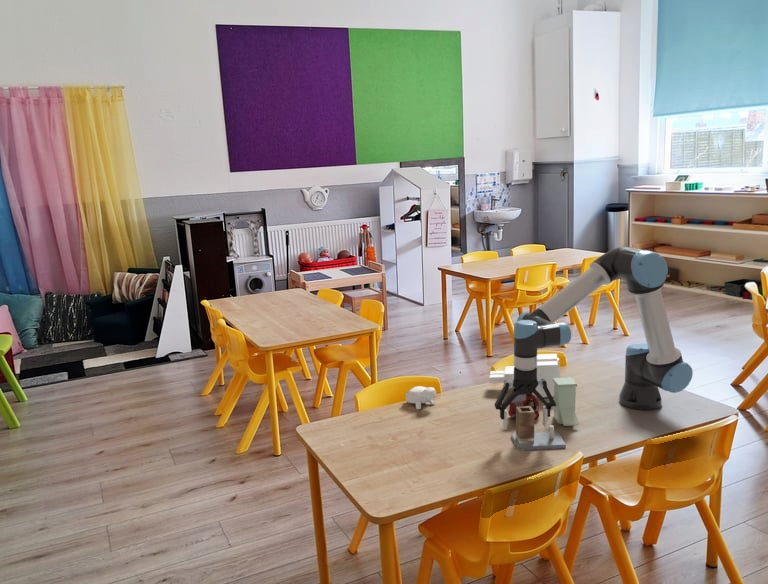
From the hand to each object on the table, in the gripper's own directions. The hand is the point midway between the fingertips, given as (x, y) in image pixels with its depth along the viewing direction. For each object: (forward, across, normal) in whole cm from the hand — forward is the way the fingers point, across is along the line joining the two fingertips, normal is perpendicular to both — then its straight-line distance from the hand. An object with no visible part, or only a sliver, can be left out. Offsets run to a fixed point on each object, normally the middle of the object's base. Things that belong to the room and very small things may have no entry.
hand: (525, 426), depth 219 cm
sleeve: (+5, 0, 0) cm, 5 cm away
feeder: (+6, -18, -14) cm, 24 cm away
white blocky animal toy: (+6, +32, -37) cm, 49 cm away
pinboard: (+6, -4, 0) cm, 7 cm away
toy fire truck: (+6, -4, -20) cm, 21 cm away
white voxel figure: (+6, -11, -47) cm, 49 cm away
